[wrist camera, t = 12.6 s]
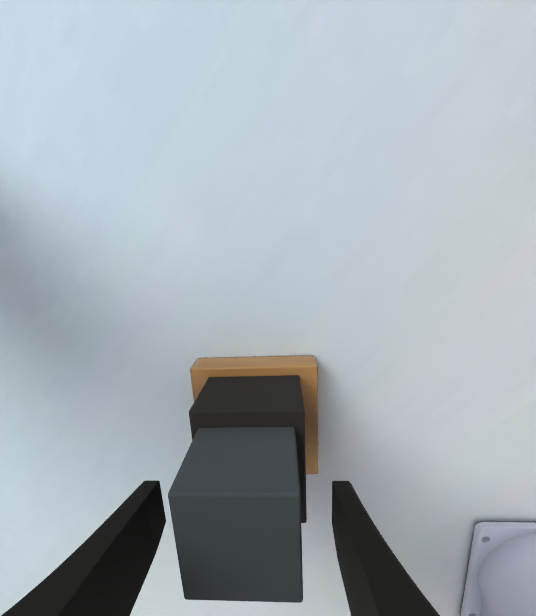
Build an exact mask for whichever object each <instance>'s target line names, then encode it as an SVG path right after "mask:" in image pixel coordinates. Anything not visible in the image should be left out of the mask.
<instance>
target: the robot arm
mask: <svg viewBox="0 0 536 616" xmlns="http://www.w3.org/2000/svg"><path fill="white" fill-rule="evenodd" d="M165 523H166V518H165V512H164V506H163V500H162V494H161V488H160V482H159V481H144V482H143V483H142V484H141V485H140V486H139V487H138V488H137V489H136V490H135V491H134V492H133V493H132V494H131V495H130V496H129V497H128V498H127V499H126V500H125V501H124V503H123V504H122V505H121V506H120V507H119V508H118V509H117V510H116V511H115V512H114V513H113V514H112V515H111V516H110V517H109V518H108V519H107V520H106V521H105V522H104V523H103V524H102V525H101V526H100V527H99V528H98V529H97V530H96V531H95V532H94V533H93V534H92V535H91V536H90V537H89V538H88V539H87V540H86V541H85V542H84V543H83V544H82V545H81V546H80V547H79V548H78V549H77V550H76V551H75V552H74V553H72V554H71V555H70V556H69V557H68V558H67V559H66V560H65V561H64V562H63V563H62V564H61V565H60V566H59V567H58V568H57V569H55V570H54V571H53V572H52V573H51V574H50V575H49V576H48V577H47V578H45V579H44V580H43V581H42V582H41V583H40V584H39V585H38V586H36V587H35V588H34V589H33V590H32V591H31V592H29V593H28V594H27V595H26V596H25V597H24V598H22V599H21V600H20V601H19V602H18V603H16V604H15V605H14V606H13V607H12V608H10V609H9V610H8V611H7V612H5V613H4V614H3V615H2V616H130V613H131V611H132V609H133V606H134V604H135V602H136V599H137V597H138V595H139V592H140V590H141V588H142V585H143V583H144V580H145V578H146V576H147V573H148V571H149V569H150V566H151V564H152V561H153V559H154V557H155V554H156V551H157V548H158V545H159V542H160V539H161V536H162V532H163V529H164V526H165ZM332 526H333V532H334V539H335V545H336V551H337V558H338V562H339V566H340V570H341V575H342V579H343V583H344V587H345V591H346V596H347V600H348V604H349V608H350V612H351V616H440V615H439V614H438V613H437V611H436V610H435V609H434V608H433V606H432V605H431V604H430V603H429V601H428V600H427V599H426V597H425V596H424V595H423V594H422V592H421V591H420V590H419V588H418V587H417V586H416V584H415V583H414V582H413V580H412V579H411V577H410V576H409V575H408V573H407V572H406V570H405V569H404V568H403V566H402V565H401V563H400V562H399V561H398V559H397V558H396V556H395V555H394V553H393V552H392V551H391V549H390V548H389V546H388V545H387V543H386V541H385V540H384V538H383V537H382V535H381V534H380V532H379V531H378V529H377V528H376V526H375V525H374V523H373V521H372V520H371V518H370V516H369V515H368V513H367V511H366V510H365V508H364V506H363V505H362V503H361V501H360V499H359V498H358V496H357V494H356V492H355V490H354V488H353V486H352V484H351V483H350V482H349V481H332ZM461 616H536V522H480V523H478V524H477V525H476V526H475V530H474V536H473V542H472V549H471V555H470V561H469V567H468V573H467V579H466V585H465V592H464V598H463V604H462V610H461Z"/></svg>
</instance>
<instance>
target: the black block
mask: <svg viewBox="0 0 536 616" xmlns="http://www.w3.org/2000/svg"><path fill="white" fill-rule="evenodd" d="M189 416H190V424H191V432H192V440H193V439H194V437H195V434H196V432H197V430H198V428H207V427H294V428H295V435H296V447H297V459H298V471H299V483H300V495H301V523H306V521H307V517H306V457H305V409H304V403H303V396H302V390H301V383H300V377H299V375H282V376H233V377H208V379H207V381H206V383H205V384H204V386H203V388H202V390H201V391H200V393H199V395H198V397H197V399H196V400H195V402H194V404H193V406H192V407H191V409H190V411H189Z"/></svg>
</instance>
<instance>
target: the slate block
mask: <svg viewBox="0 0 536 616" xmlns="http://www.w3.org/2000/svg"><path fill="white" fill-rule="evenodd" d="M168 498H169V504H170V510H171V517H172V523H173V529H174V535H175V542H176V548H177V554H178V560H179V567H180V573H181V579H182V586H183V592H184V598H185V599H188V600H225V601H263V602H302V600H303V580H302V537H301V495H300V483H299V471H298V459H297V447H296V435H295V428H294V427H207V428H198V430H197V432H196V434H195V437H194V439H193V441H192V443H191V445H190V447H189V450H188V452H187V454H186V456H185V458H184V461H183V463H182V465H181V467H180V469H179V471H178V474H177V476H176V478H175V480H174V482H173V484H172V487H171V489H170V491H169V493H168Z"/></svg>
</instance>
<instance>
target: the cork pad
mask: <svg viewBox="0 0 536 616" xmlns="http://www.w3.org/2000/svg"><path fill="white" fill-rule="evenodd" d="M190 372H191V381H192V389H193V397H194V402H195V400H196V399H197V397H198V395H199V393H200V391H201V390H202V388H203V386H204V384H205V383H206V381H207V379H208V377H233V376H282V375H299V377H300V383H301V390H302V396H303V403H304V409H305V457H306V474H318V367H317V363H316V360H315V357H314V356H313V355H307V356H267V357H227V358H198V359H197V361H196V362H195V363H194V364H193V366H192V367H191V368H190Z"/></svg>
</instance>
